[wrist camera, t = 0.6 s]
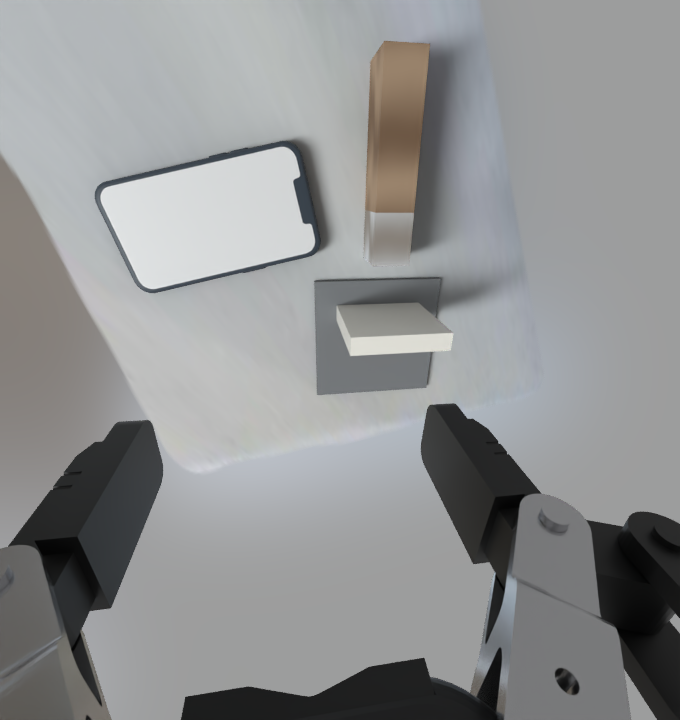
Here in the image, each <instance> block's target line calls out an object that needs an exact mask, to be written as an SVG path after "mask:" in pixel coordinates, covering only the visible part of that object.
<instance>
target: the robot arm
mask: <svg viewBox="0 0 680 720" xmlns="http://www.w3.org/2000/svg"><path fill="white" fill-rule="evenodd" d="M421 455H422V460H423V463H424V465H425V467H426V470H427V472H428V473H429V476H430V478H431V480H432V482H433V483H434V486H435V488H436V490H437V492H438V494H439V496H440V497H441V500H442V501H443V504H444V506H445V508H446V510H447V512H448V514H449V516H450V518H451V520H452V521H453V524H454V526H455V528H456V530H457V532H458V534H459V536H460V538H461V540H462V542H463V544H464V546H465V548H466V550H467V552H468V554H469V556H470V558H471V560H472V562H473V564H477V563H486V562H490V564H491V565H492V567H493V569H494V571H495V572H494V575H493V578H492V582H491V589H490V595H489V601H488V607H487V613H486V619H485V625H484V632H483V638H482V643H481V649H480V654H479V659H478V663H477V667H476V670H475V674H474V678H473V682H472V687H471V691H470V693H469V692H467V691H466V690H464V689H462V688H460V687H458V686H456V685H454V684H452V683H449V682H446V681H443V680H441V679H438V678H433V677H430V676H429V672H428V669H427V666H426V662H425V659H424V658H420V659H414V660H408V661H401V662H395V663H390V664H383V665H377V666H372V667H368V668H366V669H364V670H363V671H361V672H359V673H357V674H355V675H353V676H351V677H349V678H348V679H346V680H344V681H342V682H340V683H338V684H336V685H334V686H332V687H331V688H329V689H327V690H325V691H323V692H321V693H319V694H317V695H315V696H311V697H307V696H300V695H294V694H288V693H283V692H276V691H271V690H265V689H259V688H254V687H244V688H237V689H231V690H225V691H218V692H213V693H206V694H200V695H194V696H188V697H185V702H184V708H183V713H182V717H181V720H631V715H630V708H629V701H628V694H627V688H626V680H625V673H624V669H625V671H626V672H627V674H628V675H629V677H630V678H631V680H632V682H633V683H634V685H635V686H636V687H637V689H638V691H639V692H640V694H641V695H642V697H643V698H644V700H645V702H646V703H647V705H648V706H649V708H650V709H651V711H652V712H653V714H654V715H655V717H656V718H657V720H680V633H679V632H678V631H677V630H676V629H675V627H674V626H673V625H672V624H671V623H670V621H669V620H670V619H671V618H672V617H673V615H674V614H675V613H676V615H677V616H678V617H679V618H680V524H679V523H677V522H675V521H673V520H671V519H669V518H666V517H664V516H661V515H658V514H655V513H650V512H635V513H633V514H631V515H630V516H629V518H628V520H627V521H626V523H625V525H624V526H623V527H622V526H616V525H611V524H605V523H600V522H594V521H588V520H586V519H584V517H583V516H582V515H581V514H580V513H579V512H578V511H577V510H576V509H575V508H573V507H572V506H571V505H569V504H568V503H566V502H564V501H562V500H561V499H558V498H556V497H553V496H550V495H545V494H541V493H540V491H539V490H538V489H537V488H536V487H535V485H534V484H533V483H532V482H531V480H530V479H529V478H528V477H527V476H526V474H525V473H524V472H523V471H522V470H521V469H520V467H519V466H518V465H517V464H516V463H515V461H514V460H513V459H512V458H511V456H510V455H509V454H508V455H507V451H506V450H505V449H504V448H503V447H502V445H501V444H498V440H497V439H496V438H495V437H494V436H493V434H492V433H491V432H490V431H489V430H488V429H487V428H486V427H484V426H483V425H481V424H480V423H478V422H477V421H475V420H474V419H467V418H466V416H465V415H464V414H463V412H462V411H461V410H460V409H459V407H458V406H457V405H456V404H436V405H430V406H429V407H428V409H427V413H426V419H425V424H424V430H423V436H422V442H421ZM162 477H163V463H162V459H161V455H160V451H159V448H158V444H157V440H156V436H155V432H154V428H153V425H152V423H151V422H150V421H149V420H143V421H126V422H117V423H116V424H115V425H114V426H113V428H112V429H111V431H110V432H109V434H108V435H107V437H106V438H105V440H104V441H103V442H95V443H93V444H92V445H91V446H90V447H88V448H87V449H85V450H84V451H83V452H81V453H80V454H79V455H77V456H76V457H75V459H74V460H73V461H72V463H71V464H70V465H69V466H68V468H67V469H66V470H65V472H64V476H61V477H60V478H59V480H58V481H57V483H56V484H55V485H54V486H53V490H50V492H49V493H48V494H47V496H46V497H45V498H44V500H43V501H42V502H41V504H40V505H39V506H38V507H37V509H36V510H35V511H34V513H33V514H32V515H31V517H30V518H29V519H28V521H27V522H26V523H25V525H24V526H23V527H22V529H21V530H20V531H19V533H18V534H17V535H16V537H15V538H14V540H13V541H12V542H11V543H10V545H9V546H8V547H5V548H2V549H0V720H112V719H111V717H110V714H109V711H108V708H107V705H106V702H105V699H104V695H103V692H102V689H101V686H100V683H99V680H98V677H97V674H96V670H95V667H94V664H93V661H92V658H91V655H90V651H89V648H88V645H87V642H86V639H85V635H84V633H83V631H82V627H83V625H84V622H85V620H86V618H87V616H88V614H89V611H93V610H100V609H108V608H111V607H112V604H113V602H114V599H115V597H116V594H117V592H118V589H119V587H120V584H121V582H122V579H123V577H124V575H125V572H126V570H127V567H128V565H129V562H130V560H131V557H132V555H133V552H134V550H135V547H136V545H137V542H138V540H139V538H140V535H141V533H142V530H143V528H144V525H145V523H146V520H147V518H148V515H149V513H150V510H151V508H152V505H153V503H154V501H155V498H156V495H157V493H158V491H159V488H160V485H161V482H162Z"/></svg>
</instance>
